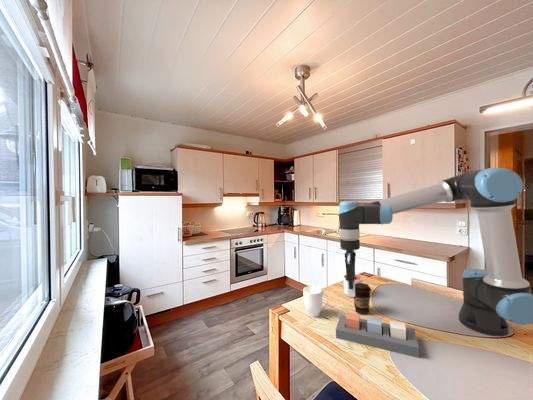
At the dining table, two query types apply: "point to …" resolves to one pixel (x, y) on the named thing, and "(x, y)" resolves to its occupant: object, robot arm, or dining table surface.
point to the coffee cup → (362, 298)
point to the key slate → (374, 325)
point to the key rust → (353, 321)
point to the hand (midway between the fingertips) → (351, 295)
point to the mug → (313, 300)
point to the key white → (397, 330)
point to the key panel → (379, 338)
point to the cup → (358, 280)
